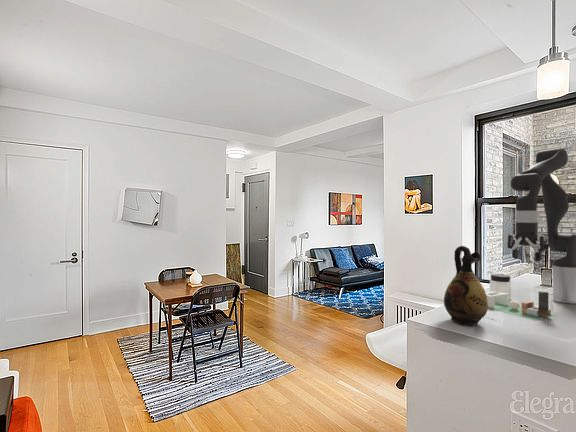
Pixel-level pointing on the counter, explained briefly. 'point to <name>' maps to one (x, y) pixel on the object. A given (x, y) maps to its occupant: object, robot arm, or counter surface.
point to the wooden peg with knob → (542, 305)
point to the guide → (533, 312)
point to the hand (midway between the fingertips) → (526, 259)
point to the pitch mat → (515, 311)
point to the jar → (500, 284)
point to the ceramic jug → (465, 291)
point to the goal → (497, 298)
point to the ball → (514, 305)
